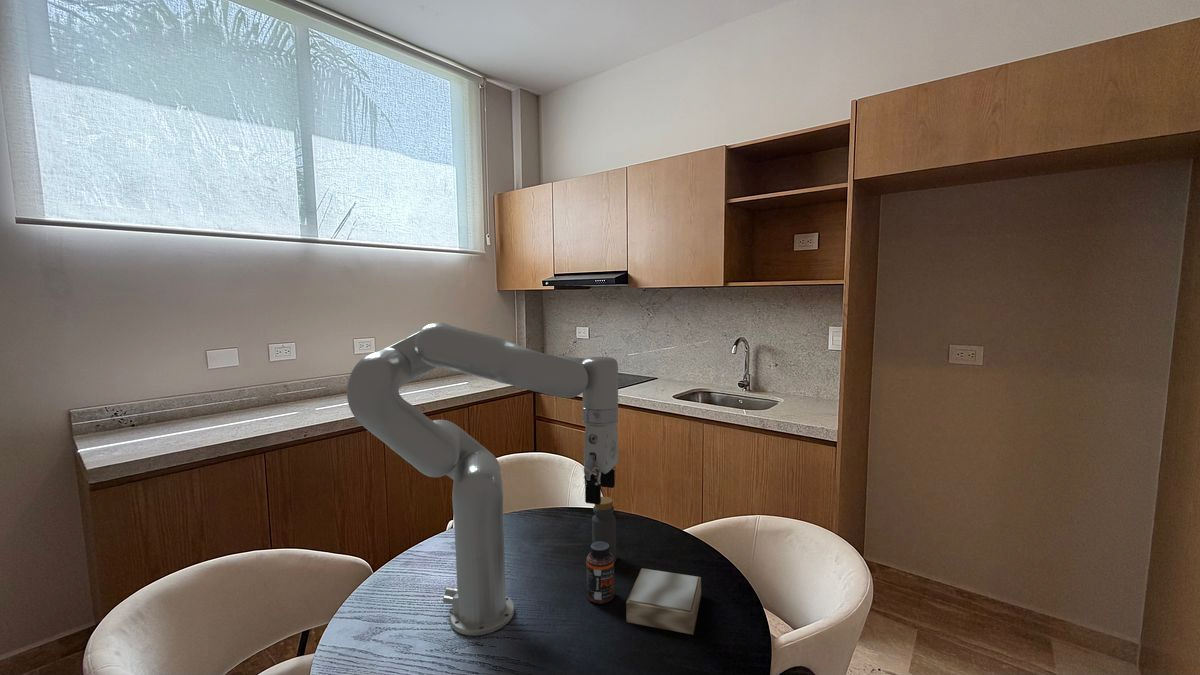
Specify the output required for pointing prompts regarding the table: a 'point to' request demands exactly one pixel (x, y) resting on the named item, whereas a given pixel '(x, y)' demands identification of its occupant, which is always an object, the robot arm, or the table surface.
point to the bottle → (604, 524)
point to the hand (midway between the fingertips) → (600, 494)
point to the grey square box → (664, 601)
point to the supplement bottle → (600, 573)
